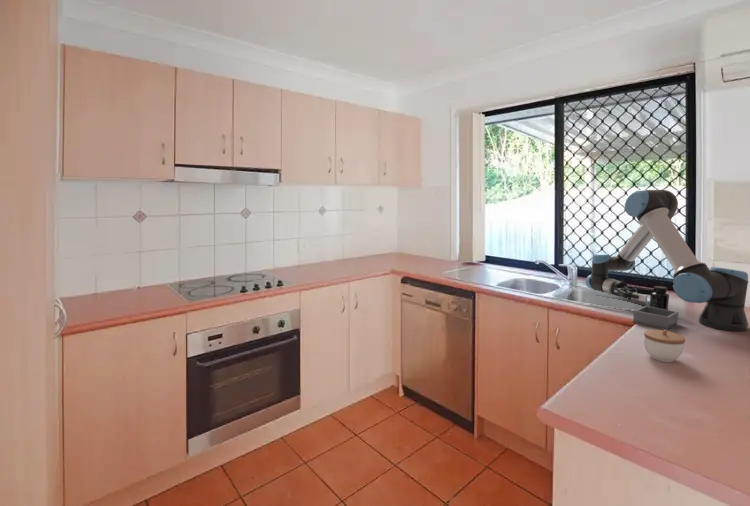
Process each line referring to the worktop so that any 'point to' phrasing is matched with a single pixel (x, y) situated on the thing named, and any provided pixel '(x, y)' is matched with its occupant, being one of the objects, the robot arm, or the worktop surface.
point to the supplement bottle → (659, 298)
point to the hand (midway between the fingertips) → (657, 297)
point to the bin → (655, 317)
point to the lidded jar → (663, 344)
